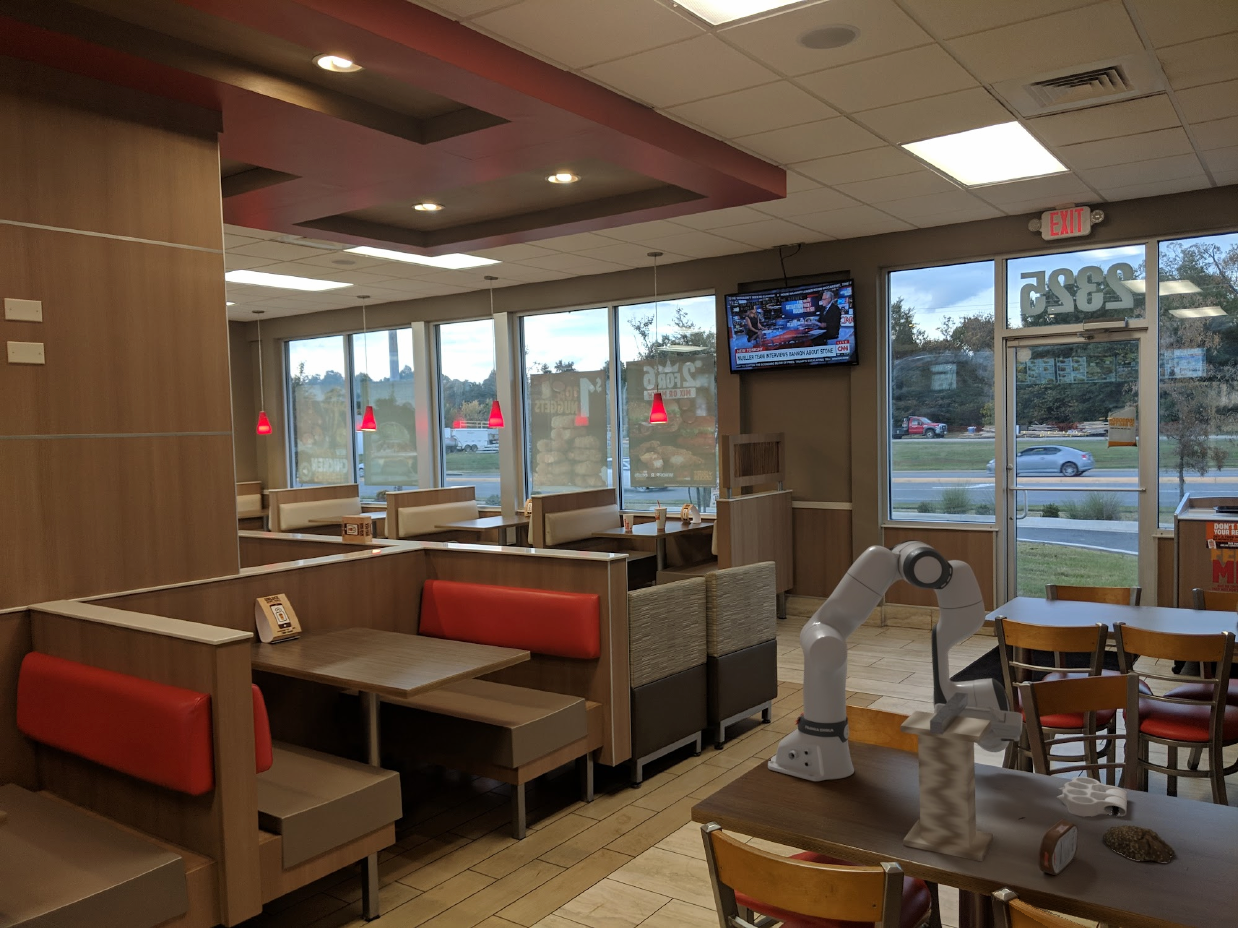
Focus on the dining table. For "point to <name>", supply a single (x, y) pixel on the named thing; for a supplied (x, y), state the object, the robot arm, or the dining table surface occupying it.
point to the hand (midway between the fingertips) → (972, 709)
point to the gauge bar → (948, 713)
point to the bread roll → (1138, 843)
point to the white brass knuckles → (1092, 797)
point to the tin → (1058, 847)
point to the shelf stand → (947, 787)
